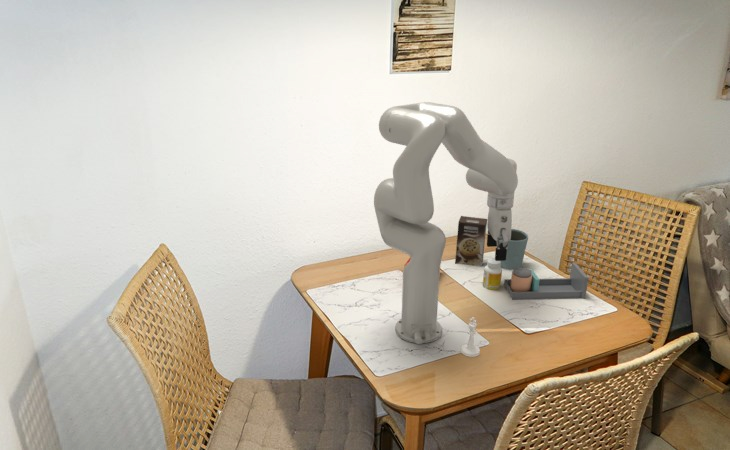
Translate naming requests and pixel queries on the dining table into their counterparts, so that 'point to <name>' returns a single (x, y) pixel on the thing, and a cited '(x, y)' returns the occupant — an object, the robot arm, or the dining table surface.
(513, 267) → the teal cup
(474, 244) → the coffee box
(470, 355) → the chess piece
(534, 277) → the plate
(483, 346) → the dining table surface
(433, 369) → the dining table surface
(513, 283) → the jar
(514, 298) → the lane
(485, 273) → the supplement bottle
